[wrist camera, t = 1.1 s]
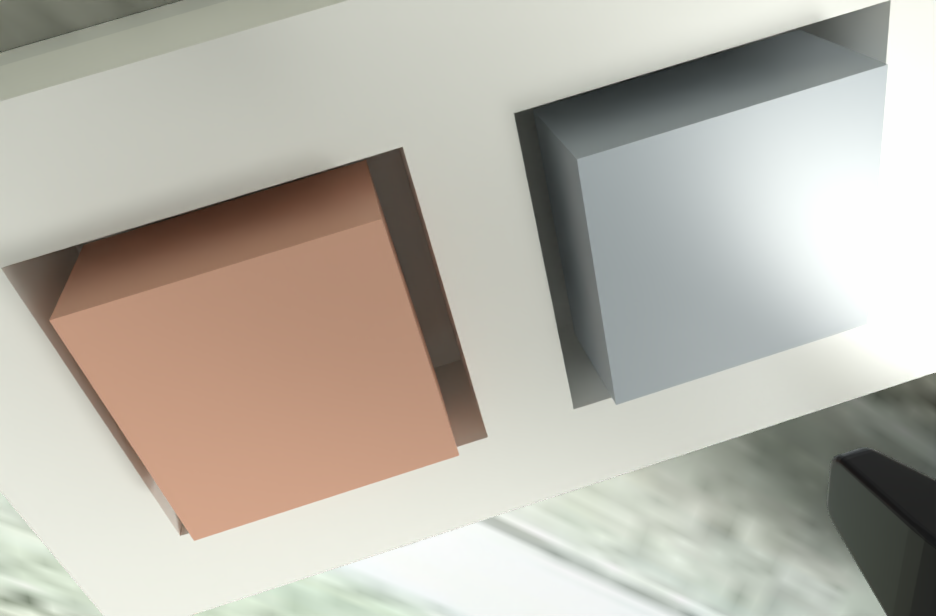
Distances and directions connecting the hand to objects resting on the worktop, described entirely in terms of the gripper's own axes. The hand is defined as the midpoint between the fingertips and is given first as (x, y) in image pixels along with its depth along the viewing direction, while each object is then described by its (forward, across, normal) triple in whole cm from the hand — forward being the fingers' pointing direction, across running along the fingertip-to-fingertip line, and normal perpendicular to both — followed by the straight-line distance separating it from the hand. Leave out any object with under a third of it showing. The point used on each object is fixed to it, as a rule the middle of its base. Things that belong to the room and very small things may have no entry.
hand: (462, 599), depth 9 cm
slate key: (+9, -7, +1) cm, 11 cm away
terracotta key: (+9, +2, +1) cm, 9 cm away
